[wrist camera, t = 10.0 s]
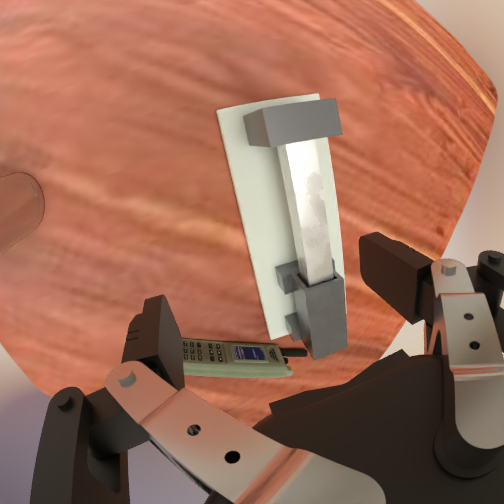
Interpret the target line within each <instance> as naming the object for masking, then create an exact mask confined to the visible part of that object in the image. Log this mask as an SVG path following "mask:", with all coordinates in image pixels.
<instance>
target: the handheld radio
mask: <svg viewBox="0 0 504 504" xmlns="http://www.w3.org/2000/svg"><path fill="white" fill-rule="evenodd" d="M182 349H183V368H184V375H195V376H212V377H239V378H282V377H285V376H291V375H292V373H293V371H292V370H291V366H286V364H287V363H288V359H287V358H284V357H283V356H286V357H306V356H307V354H308V353H307V350H279V347H278V345H277V344H255V343H235V342H220V341H207V340H195V339H184V338H182Z"/></svg>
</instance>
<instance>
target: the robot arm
mask: <svg viewBox="0 0 504 504" xmlns="http://www.w3.org/2000/svg"><path fill="white" fill-rule="evenodd" d="M43 213H44V198H43V193H42V191H41V188H40V186H39V185H38V183H37V181H36V180H35V179H34V178H33V177H31V176H30V175H28V174H25V173H15V174H11V175H8V176H4V177H1V178H0V255H1V254H3V253H4V252H5V251H6V250H8V249H9V248H10V247H12V246H13V245H14V244H16V243H17V242H18V241H20V240H21V239H22V238H24V237H25V236H26V235H28V234H29V233H31V232H32V231H33V230H34V229H36V228H37V226H38V225H39V224H40V222H41V220H42V217H43ZM359 253H360V271H361V276H362V279H363V281H364V282H365V284H366V285H367V286H369V287H370V288H371V289H372V290H373V291H374V292H376V293H377V294H378V295H379V296H380V297H381V298H382V299H384V300H385V301H386V302H387V303H388V304H389V305H390V306H392V307H393V308H394V309H395V310H396V311H397V312H398V313H399V314H401V315H402V316H403V317H404V318H405V319H406V320H407V321H408V322H410V323H411V324H412V325H413V324H415V323H417V322H419V321H421V320H423V319H424V320H425V323H424V355H417V356H411V357H409V356H408V355H407V354H406V353H405V352H404V351H403V349H401V350H399V351H397V352H395V353H393V354H391V355H389V356H387V357H385V358H383V359H381V360H379V361H377V362H374V363H373V364H372V365H370V366H369V367H368V368H366V369H365V370H364V371H362V372H361V373H360V374H358V375H357V376H356V377H354V378H353V379H351V380H350V381H349V382H347V383H345V384H342V385H338V386H332V387H327V388H321V389H316V390H309V391H304V392H301V393H299V394H296V395H293V396H290V397H287V398H284V399H281V400H278V401H275V402H272V403H269V406H270V409H271V412H272V414H271V415H269V416H267V417H265V418H264V419H262V420H261V421H260V422H258V423H257V424H256V425H255V426H254V427H252V428H250V427H248V426H247V425H245V424H243V423H241V422H240V421H238V420H236V419H235V418H233V417H231V416H230V415H228V414H226V413H225V412H223V411H221V410H220V409H218V408H217V407H215V406H213V405H212V404H210V403H209V402H207V401H206V400H204V399H203V398H201V397H200V396H198V395H197V394H195V393H194V392H192V391H191V390H189V389H187V388H185V384H184V368H183V349H182V338H181V334H180V331H179V328H178V325H177V323H176V321H175V318H174V316H173V314H172V311H171V309H170V306H169V304H168V301H167V299H166V297H165V295H164V294H163V295H159V296H155V297H152V298H148V299H145V302H144V307H143V312H142V313H141V314H138V315H136V316H135V317H134V318H133V320H132V321H131V322H130V324H129V328H128V334H127V337H126V342H125V347H124V352H123V357H122V362H121V364H120V365H118V366H116V367H115V368H114V369H113V370H112V371H111V372H110V373H109V374H108V376H107V378H106V381H105V386H106V387H104V388H102V389H100V390H98V391H96V392H93V393H91V394H89V395H87V396H85V395H84V394H83V392H82V391H81V390H80V389H79V388H77V387H67V388H64V389H62V390H60V391H59V392H58V393H56V394H55V395H54V396H53V398H52V399H51V401H50V403H49V405H48V409H47V413H46V417H45V421H44V425H43V429H42V433H41V438H40V442H39V447H38V452H37V457H36V463H35V469H34V474H33V481H32V489H31V496H30V504H130V495H129V481H128V480H129V479H128V453H127V452H128V449H131V448H133V447H135V446H138V445H140V444H142V443H144V442H146V441H149V442H150V443H151V444H152V445H153V446H154V447H155V448H156V449H157V450H158V451H159V452H160V453H161V454H162V455H163V456H165V457H166V458H167V459H168V460H169V461H170V462H171V463H172V464H173V465H174V466H176V467H177V468H178V469H179V470H180V471H181V472H182V473H183V474H185V475H186V476H187V477H188V478H189V479H190V480H191V481H192V482H194V483H195V484H196V485H197V486H198V487H199V488H201V489H202V490H203V491H204V492H206V493H207V494H208V495H209V497H208V498H207V500H206V501H205V503H204V504H504V358H503V354H502V352H503V353H504V309H502V308H501V307H500V304H501V300H502V296H503V292H504V254H503V253H500V252H497V251H491V250H489V251H483V252H481V253H480V254H479V258H478V265H477V266H472V267H467V268H466V267H465V265H464V264H463V263H461V262H459V261H457V260H454V259H439V260H436V261H433V260H432V259H430V258H428V257H427V256H425V255H423V254H421V253H420V252H418V251H416V250H414V249H413V248H411V247H410V248H409V246H407V245H406V244H404V243H402V242H400V241H396V240H392V239H390V238H388V237H386V236H384V235H383V234H381V233H379V232H373V233H370V234H367V235H364V236H361V237H360V239H359Z"/></svg>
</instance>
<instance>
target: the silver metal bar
mask: <svg viewBox="0 0 504 504" xmlns="http://www.w3.org/2000/svg"><path fill="white" fill-rule="evenodd" d="M277 150H278V155H279V160H280V165H281V170H282V175H283V180H284V185H285V191H286V196H287V201H288V207H289V212H290V218H291V224H292V229H293V235H294V241H295V247H296V253H297V259H298V266H299V272H300V278H301V281H302V282H303V283H304V284H305V286H306V287H307V288H310V287H313V286H316V285H319V284H322V283H325V282H328V281H331V280H334V277H333V266H332V256H331V247H330V238H329V230H328V222H327V214H326V207H325V200H324V193H323V186H322V180H321V173H320V167H319V161H318V155H317V150H316V144H315V139H313V140H307V141H302V142H296V143H291V144H286V145H281V146H277Z"/></svg>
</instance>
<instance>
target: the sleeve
mask: <svg viewBox="0 0 504 504" xmlns="http://www.w3.org/2000/svg"><path fill="white" fill-rule="evenodd" d="M332 266H333V277H334V280H331V281H328V282H325V283H322V284H319V285H316V286H313V287H310V288H307V287H306V286H305V284H304V283H303V282H302V281H301V278H300V272H299V266H298V260H295V261H292V262H289V263H285V264H282V265H279V266H275V270H276V275H277V280H278V285H279V286H280V288H281V289H282V291H283V292H284V294H285V295H286V294H289V293H292V292H294V297H295V303H296V309H297V312H295V313H292V314H289V315H286V316H285V321H286V327H287V331H288V332H289V334H290V336H291V338H292V340H293V342H294V341H297V340H300V339H302V341H303V343H304V345H305V346H306V348H307V350H308V351H309V353H310V355H311V357H312V358H313V360H317V359H319V358H322V357H325V356H327V355H330V354H332V353H335V352H337V351H340V350H342V349H345V348H347V324H346V302H345V286H344V278H343V277H342V276H340V275H339V274H338V273H337V272H336V271H335V261H334V259H333V258H332Z"/></svg>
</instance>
